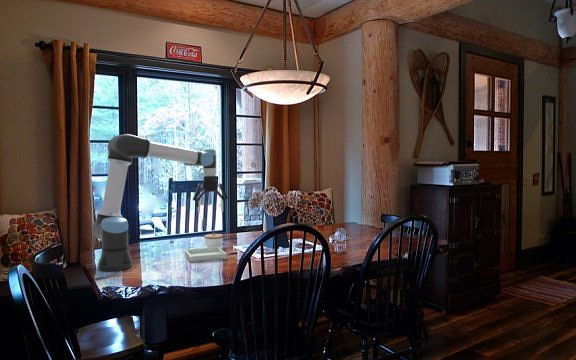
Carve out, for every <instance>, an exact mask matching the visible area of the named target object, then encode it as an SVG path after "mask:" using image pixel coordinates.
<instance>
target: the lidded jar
mask: <svg viewBox="0 0 576 360" xmlns="http://www.w3.org/2000/svg"><path fill="white" fill-rule="evenodd" d="M203 238H204V245H205V247H206V248H211V247H219V248H220V249H221V246H223V243H224V242H223V241H224V235H223V234H221V233H215V232H212V234H211V233H210V234H205V235H204V237H203Z"/></svg>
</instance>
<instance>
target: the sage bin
mask: <svg viewBox="0 0 576 360" xmlns="http://www.w3.org/2000/svg"><path fill="white" fill-rule="evenodd" d="M184 257H186V258H187V260H188V262H190V263H198V262H209V261H211V262H212V261H222V260H227V259H228V258H227V257H228V254H227V253H226V251H224V250H223V249H222V248H221V247H220V248H219V247H211V248H208V247H201V248H200V247H199V248H188V249H185V248H184Z"/></svg>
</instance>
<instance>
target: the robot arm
mask: <svg viewBox="0 0 576 360" xmlns="http://www.w3.org/2000/svg"><path fill="white" fill-rule="evenodd" d="M107 151H108V153H107V154H108V155H107V161H108V163H109V167H108V173H107V178H106V185H105V188H104V193H103V194H104V195H103V201H102V205H101V206H102V207H101V210H99V211H98V212H97V216H96V219H95V221H94V222H93V225H92V233H93V235H94V237H96V238H97V239H98V240H99V241H101V255H100V258H99V260H98V264H97V270H99V271H101V272H117V271H118V272H119V271H123V270H129V269H131V268H132V267H133V258H132V256H131V254H130V252H129V223H128V220H127V218H124V217H123V215H122V214H121V208H122V202H123V196H124V191H125V185H126V180H127V175H128V169H129V166H130V165H132V164H133V159H134V158H142V159H146V158H154V159H160V160H161V159H162V160H165V161H171V162H178V163H183V166H185V167H187V166H188V167H192V166H194V167H201V166H202V168H203V169H202V171H203V172H202V175H203V181H202V182H203V183H202V184H200V183H198V184H197V188H196V191H195V193H194V195H193V197H192V201H195V206H196V208H197V213H198V214H199V213H201V201H200V199H201V198H202V197H203V196H204V195H205V194H206V192H215V193H216V194H217V195H218V197H220V211H221V212H224V206H225V205H226V200H228V199H229V198H228V197H229V196H228V195H227V193H226V191H225V189H224V187H223V184H222V183H217V181H218V180H217V153H216V149H215V148H204V149H203V150H201V151H200V150H195V149H190V148H185V147H180V146H176V145H175V146H174V145H170V144H165V143H164V144H163V143H161V142H160V143H159V142H155V141H154V142H153V141H151V140H150V139H149V138H144V137H141V136H136V135H133V134H129V133H125V134H118V135H115V136H113V137H111V139H109V141H108V143H107ZM202 187H203V188H202ZM217 187H218V188H219V189H220V191H221V193H222V194H221V193H220V191H219V190H218V189H217ZM201 188H202V189H203V190H202V191H201ZM200 191H201V193H200ZM199 193H200V194H199Z"/></svg>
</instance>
